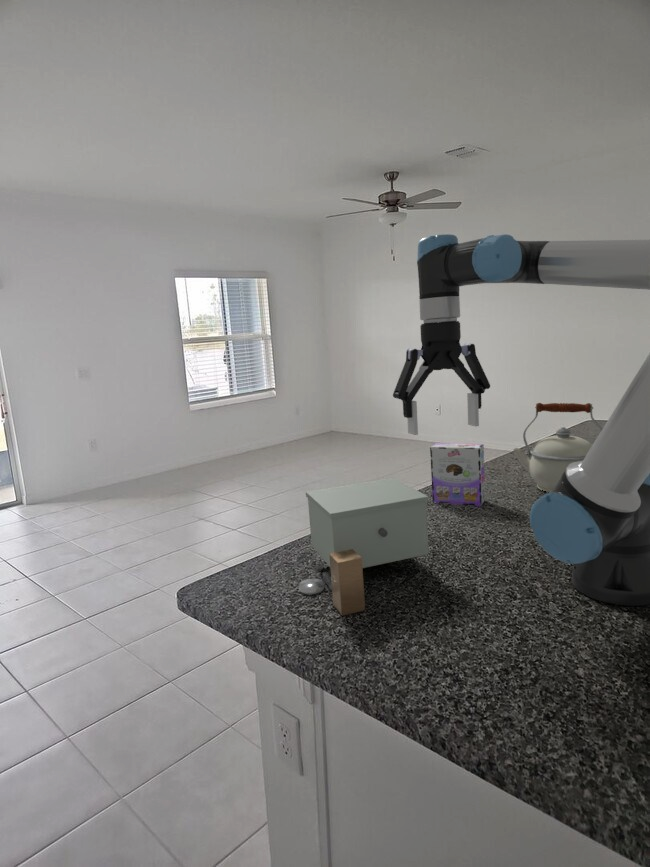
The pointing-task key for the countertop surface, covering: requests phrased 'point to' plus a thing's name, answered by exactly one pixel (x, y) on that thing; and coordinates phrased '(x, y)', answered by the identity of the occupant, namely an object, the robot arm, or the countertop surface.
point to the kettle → (555, 448)
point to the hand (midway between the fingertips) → (443, 429)
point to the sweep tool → (346, 581)
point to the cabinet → (369, 521)
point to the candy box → (458, 473)
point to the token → (311, 586)
